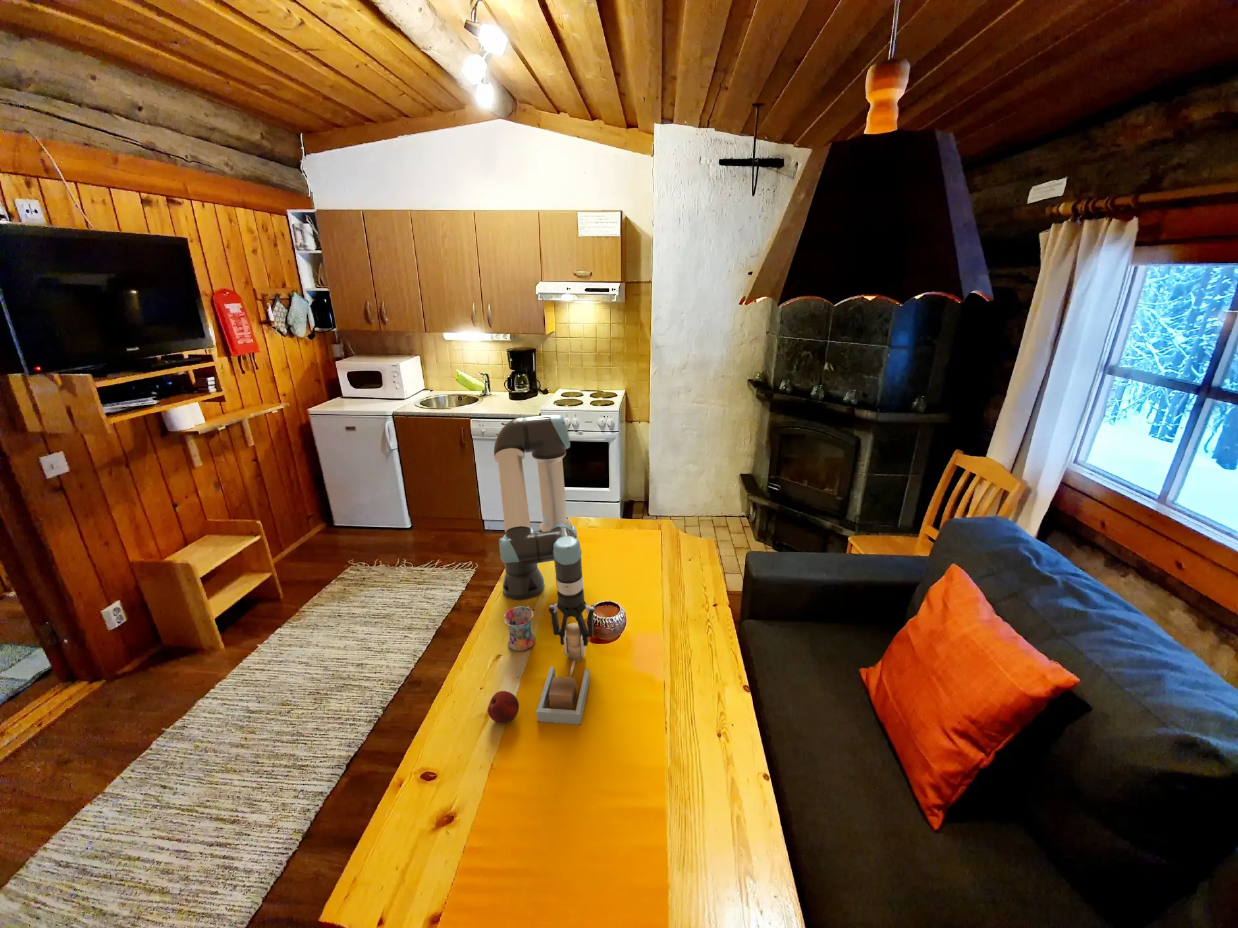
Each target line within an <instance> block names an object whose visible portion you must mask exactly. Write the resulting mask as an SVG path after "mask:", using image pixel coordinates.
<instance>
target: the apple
mask: <svg viewBox="0 0 1238 928" xmlns="http://www.w3.org/2000/svg"><path fill="white" fill-rule="evenodd" d="M519 708H520V703H519V699H518V698H517V696H516V695H514V694H513V693H512V692H510V691H506V690H499V691H497V692H495V694H493V695H492V697H491V699H490V701H489V703H488V706H487V714H488V716H489V718H490V719H491V720H492V721H494V723H497V724H508V723H510V722H512V721H513V720H514V719H515V718H516V717H517V715H518V712H519Z"/></svg>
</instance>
